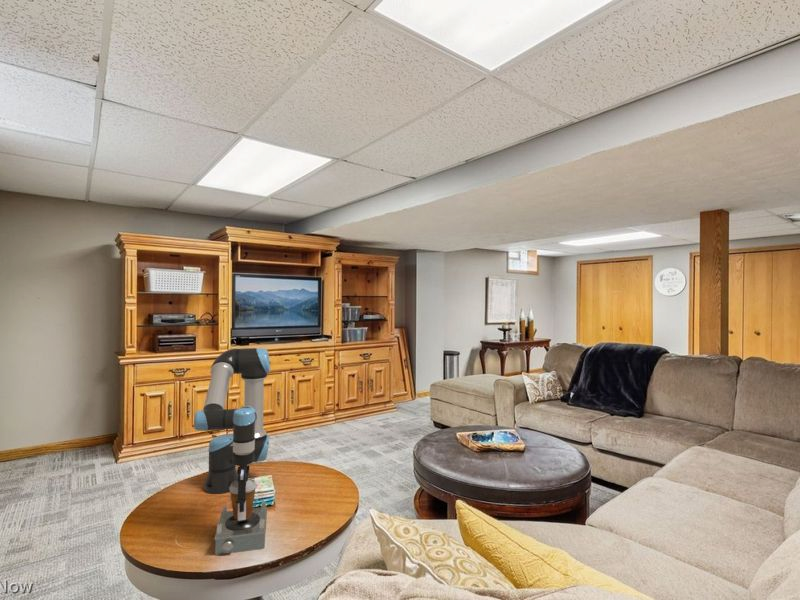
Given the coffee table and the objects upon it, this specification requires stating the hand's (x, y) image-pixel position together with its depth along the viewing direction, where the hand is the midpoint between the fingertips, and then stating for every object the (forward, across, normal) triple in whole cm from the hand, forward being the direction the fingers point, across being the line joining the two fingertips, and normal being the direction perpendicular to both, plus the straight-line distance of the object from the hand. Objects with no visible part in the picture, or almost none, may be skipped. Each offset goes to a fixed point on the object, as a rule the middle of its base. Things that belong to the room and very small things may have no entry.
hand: (242, 513), depth 156 cm
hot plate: (+9, 0, 0) cm, 9 cm away
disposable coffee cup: (+1, 0, 0) cm, 1 cm away
